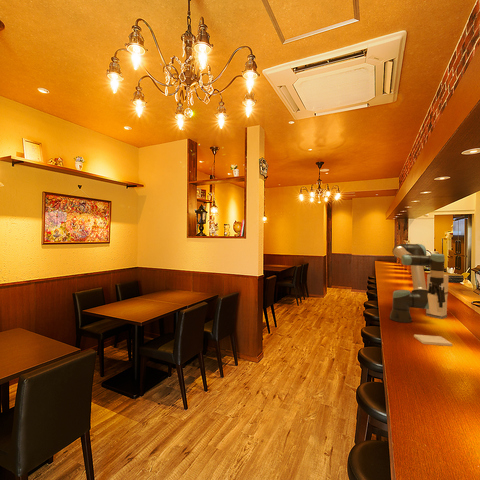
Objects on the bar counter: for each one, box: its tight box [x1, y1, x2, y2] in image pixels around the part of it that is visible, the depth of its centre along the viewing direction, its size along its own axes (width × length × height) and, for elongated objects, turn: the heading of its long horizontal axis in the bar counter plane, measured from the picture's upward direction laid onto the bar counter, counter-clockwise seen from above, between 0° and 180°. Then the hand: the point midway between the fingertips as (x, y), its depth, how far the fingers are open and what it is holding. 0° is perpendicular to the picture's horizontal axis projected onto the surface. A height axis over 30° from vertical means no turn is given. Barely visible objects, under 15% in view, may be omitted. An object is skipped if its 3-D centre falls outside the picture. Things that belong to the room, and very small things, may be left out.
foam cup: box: [428, 293, 442, 315], centre depth 181 cm, size 10×9×13 cm
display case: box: [425, 273, 449, 320], centre depth 225 cm, size 11×11×35 cm
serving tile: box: [413, 334, 453, 347], centre depth 170 cm, size 12×16×2 cm
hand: (435, 309), depth 181 cm, fingers closed on foam cup, 9 cm apart
